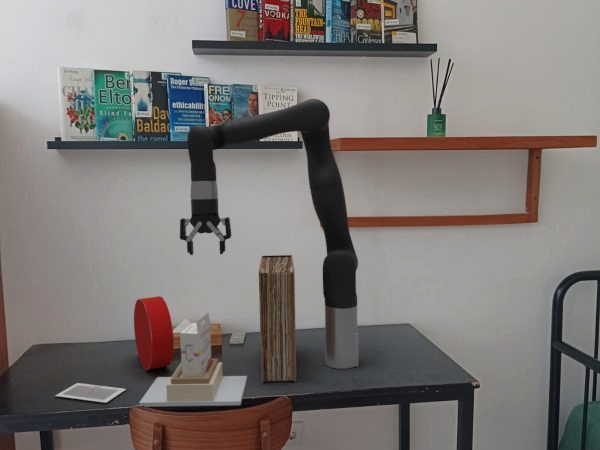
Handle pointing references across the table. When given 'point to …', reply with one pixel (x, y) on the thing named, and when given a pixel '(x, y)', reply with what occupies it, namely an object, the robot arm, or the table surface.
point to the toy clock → (153, 332)
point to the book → (277, 318)
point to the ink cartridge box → (196, 348)
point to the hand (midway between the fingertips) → (206, 254)
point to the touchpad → (91, 392)
